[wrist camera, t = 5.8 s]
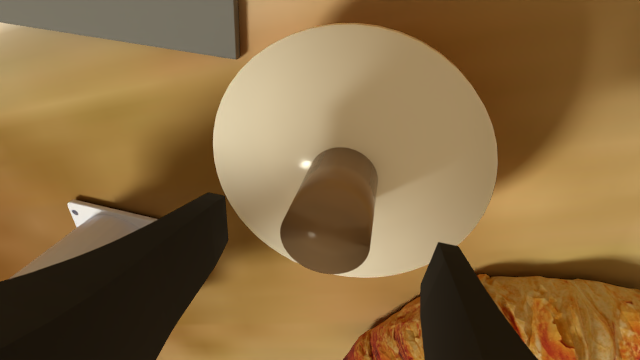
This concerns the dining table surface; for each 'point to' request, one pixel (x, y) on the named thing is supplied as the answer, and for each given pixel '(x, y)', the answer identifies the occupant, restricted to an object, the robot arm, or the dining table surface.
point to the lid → (355, 150)
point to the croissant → (531, 321)
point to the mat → (137, 22)
